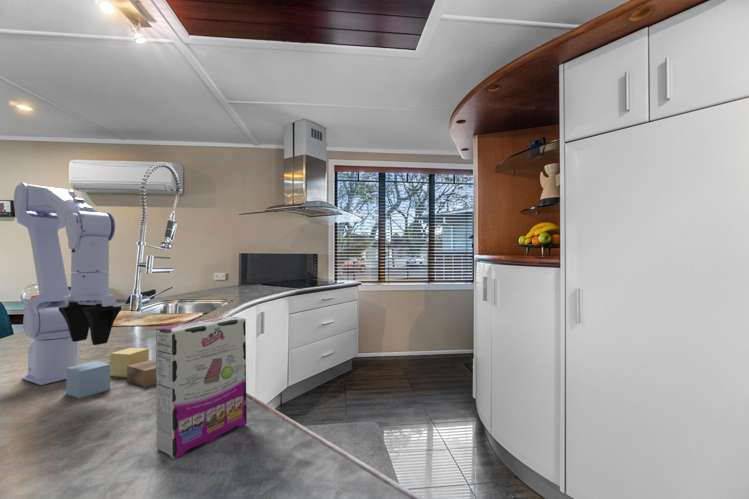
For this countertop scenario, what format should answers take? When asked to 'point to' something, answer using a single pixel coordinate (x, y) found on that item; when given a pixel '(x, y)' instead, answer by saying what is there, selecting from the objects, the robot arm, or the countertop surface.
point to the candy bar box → (199, 383)
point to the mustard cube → (127, 360)
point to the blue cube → (88, 379)
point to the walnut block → (142, 373)
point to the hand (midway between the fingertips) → (89, 342)
